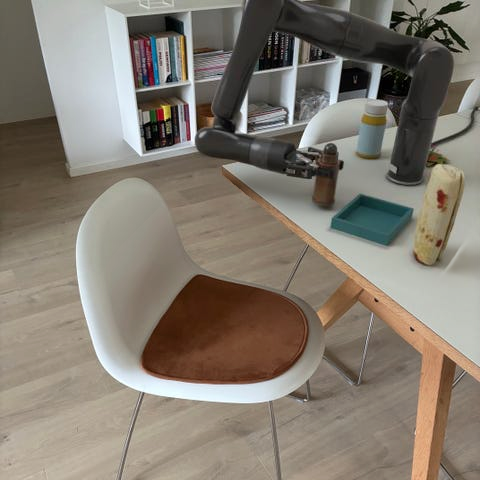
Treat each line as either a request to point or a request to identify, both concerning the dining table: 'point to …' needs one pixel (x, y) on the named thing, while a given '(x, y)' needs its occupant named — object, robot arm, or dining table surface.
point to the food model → (438, 213)
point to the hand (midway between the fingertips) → (338, 169)
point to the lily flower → (435, 157)
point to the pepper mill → (325, 186)
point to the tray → (372, 219)
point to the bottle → (372, 129)
